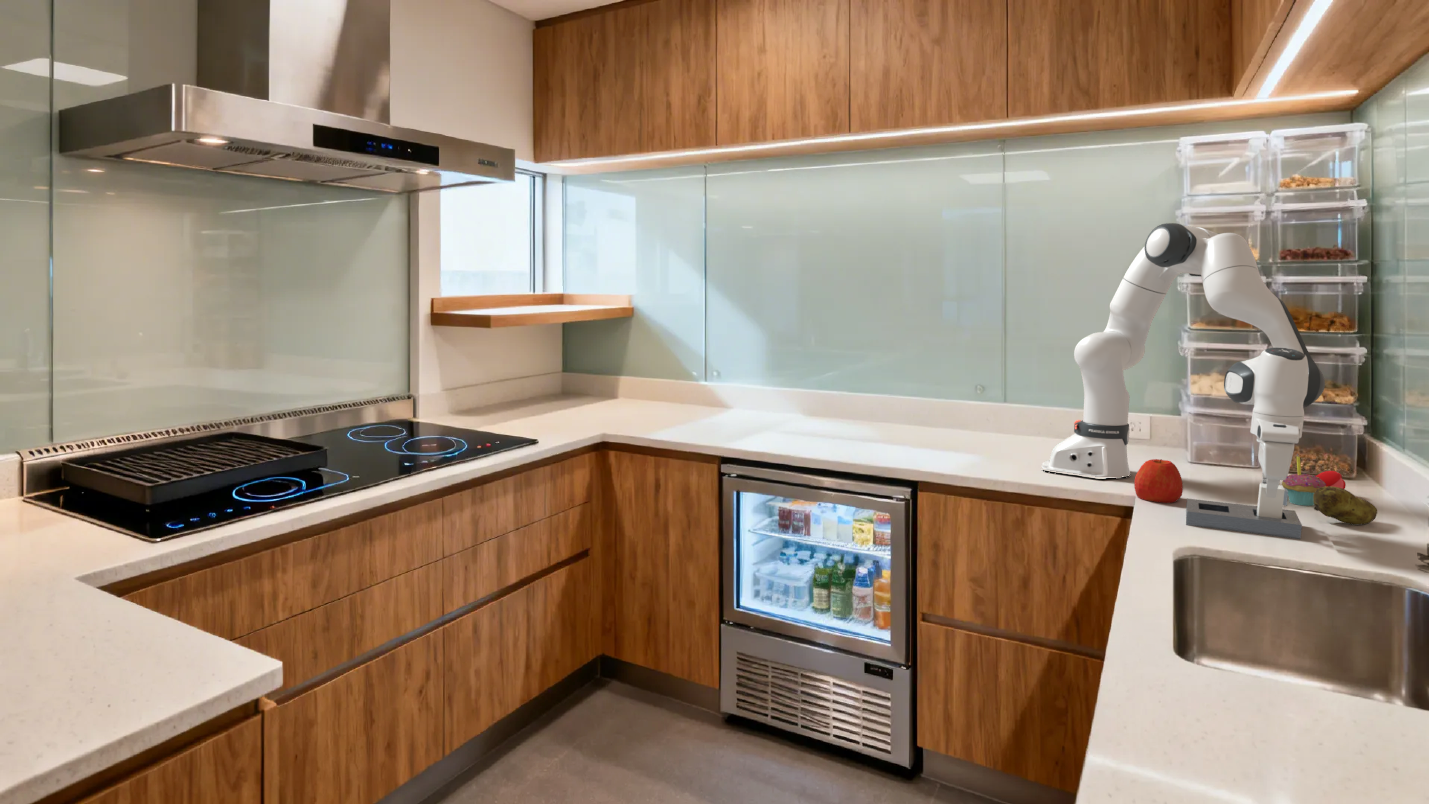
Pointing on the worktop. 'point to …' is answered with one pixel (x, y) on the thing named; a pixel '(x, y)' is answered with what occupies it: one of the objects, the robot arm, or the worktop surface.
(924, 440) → the worktop surface
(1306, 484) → the cupcake
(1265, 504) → the plug
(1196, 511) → the panel
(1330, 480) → the cap
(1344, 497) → the potato
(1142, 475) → the apple
